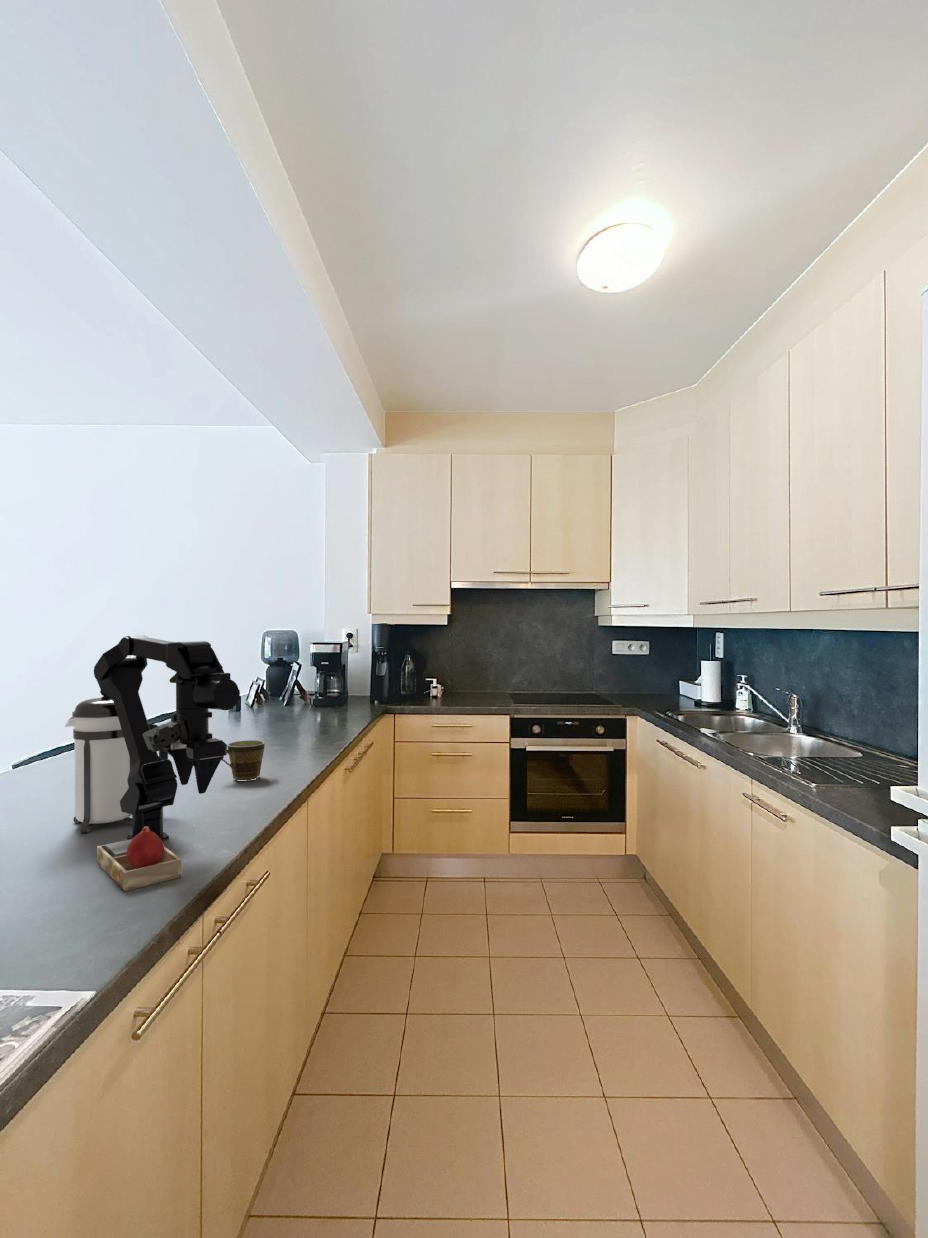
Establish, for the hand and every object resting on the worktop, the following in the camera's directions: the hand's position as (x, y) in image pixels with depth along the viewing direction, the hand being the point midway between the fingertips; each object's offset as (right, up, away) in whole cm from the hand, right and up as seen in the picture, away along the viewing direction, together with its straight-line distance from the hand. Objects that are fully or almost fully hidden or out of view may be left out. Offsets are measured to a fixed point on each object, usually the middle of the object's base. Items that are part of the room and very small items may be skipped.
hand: (192, 788), depth 125 cm
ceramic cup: (-10, -13, +58) cm, 60 cm away
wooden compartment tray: (-6, -12, -9) cm, 16 cm away
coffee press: (-26, -13, +20) cm, 35 cm away
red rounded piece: (-3, -12, -12) cm, 17 cm away
